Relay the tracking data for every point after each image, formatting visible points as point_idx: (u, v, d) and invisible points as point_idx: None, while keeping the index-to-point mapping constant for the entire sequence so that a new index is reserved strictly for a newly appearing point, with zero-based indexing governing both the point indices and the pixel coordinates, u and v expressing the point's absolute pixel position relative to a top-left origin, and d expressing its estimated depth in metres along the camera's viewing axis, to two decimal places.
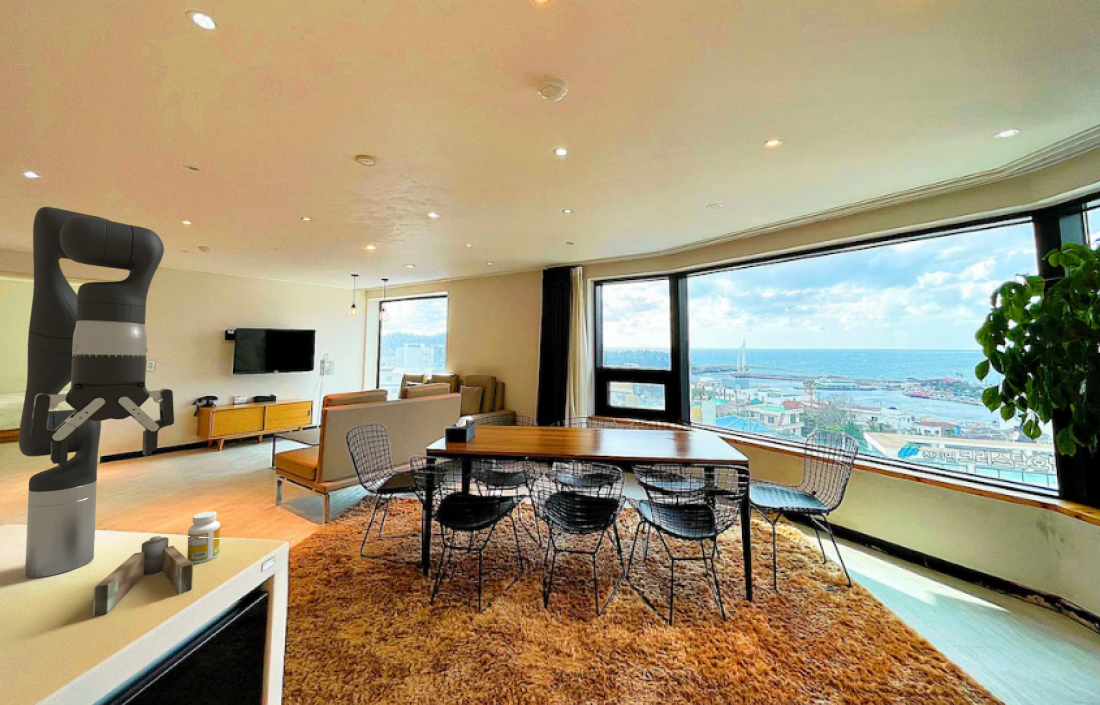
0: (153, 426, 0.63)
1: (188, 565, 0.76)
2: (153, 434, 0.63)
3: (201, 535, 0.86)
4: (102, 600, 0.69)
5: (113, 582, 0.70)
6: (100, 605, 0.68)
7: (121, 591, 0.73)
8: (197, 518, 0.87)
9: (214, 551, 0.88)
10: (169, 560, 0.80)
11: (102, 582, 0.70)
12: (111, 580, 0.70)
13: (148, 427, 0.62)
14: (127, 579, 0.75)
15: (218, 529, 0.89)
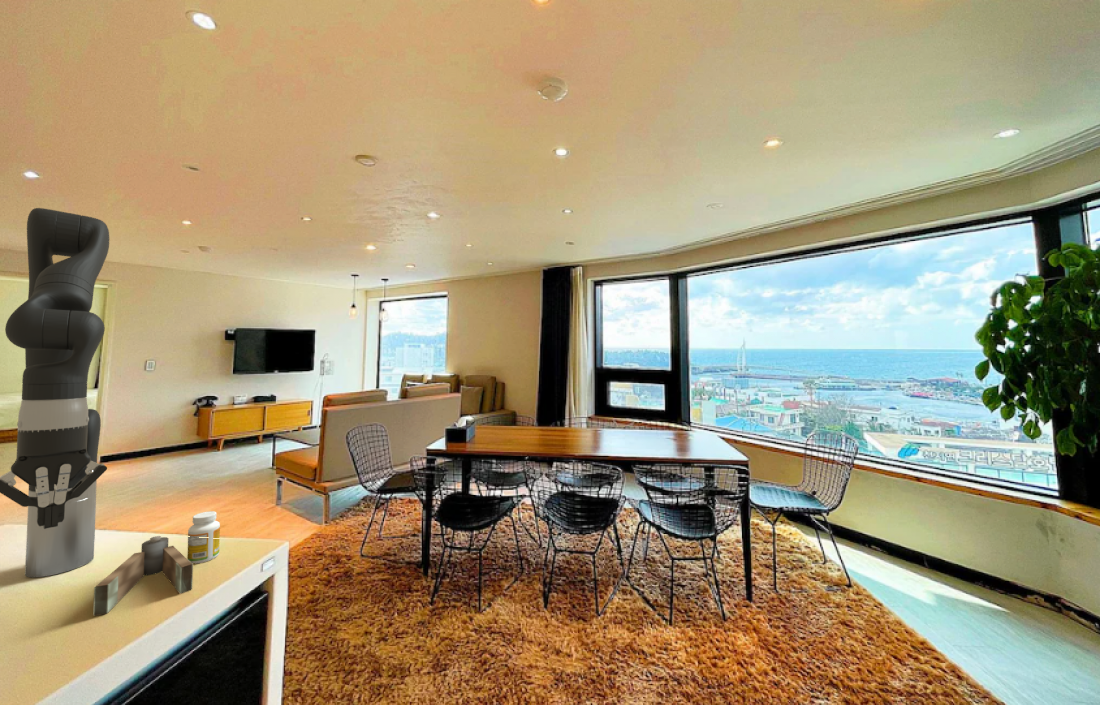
0: (59, 499, 0.68)
1: (188, 565, 0.76)
2: (60, 507, 0.68)
3: (201, 535, 0.86)
4: (102, 600, 0.69)
5: (113, 582, 0.70)
6: (100, 605, 0.68)
7: (121, 591, 0.73)
8: (197, 518, 0.87)
9: (214, 551, 0.88)
10: (169, 560, 0.80)
11: (102, 582, 0.70)
12: (111, 580, 0.70)
13: (54, 501, 0.67)
14: (127, 579, 0.75)
15: (218, 529, 0.89)
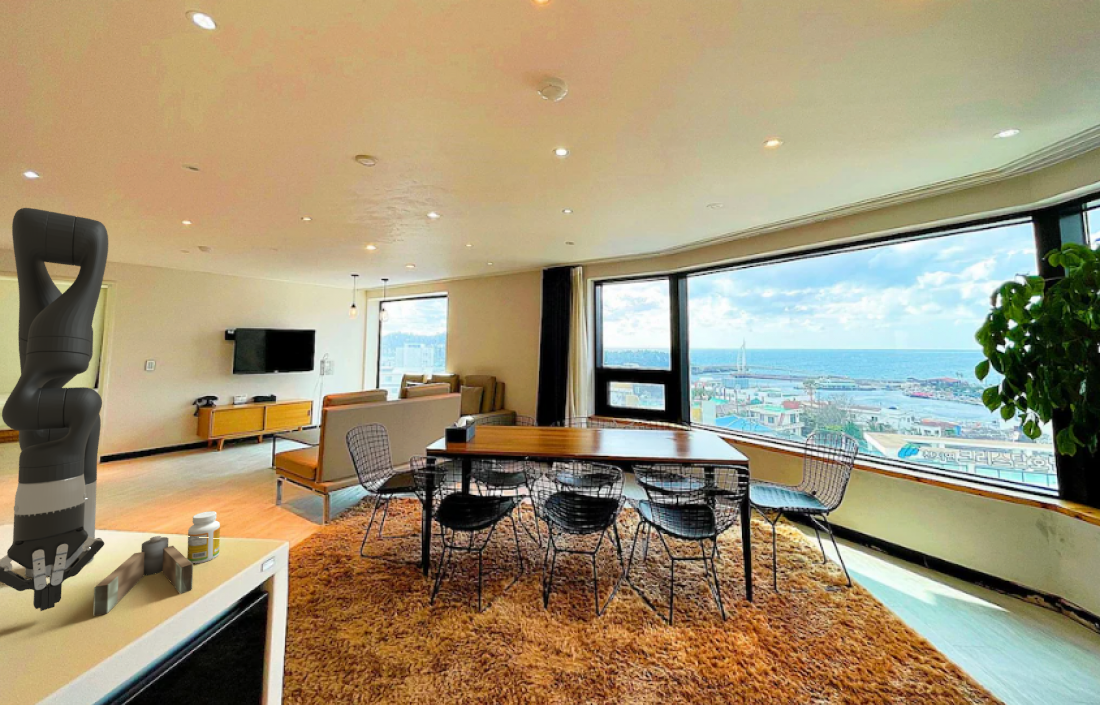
0: (56, 580, 0.67)
1: (188, 565, 0.76)
2: (56, 587, 0.67)
3: (201, 535, 0.86)
4: (102, 600, 0.69)
5: (113, 582, 0.70)
6: (100, 605, 0.68)
7: (121, 591, 0.73)
8: (197, 518, 0.87)
9: (214, 551, 0.88)
10: (169, 560, 0.80)
11: (102, 582, 0.70)
12: (111, 580, 0.70)
13: (51, 582, 0.67)
14: (127, 579, 0.75)
15: (218, 529, 0.89)
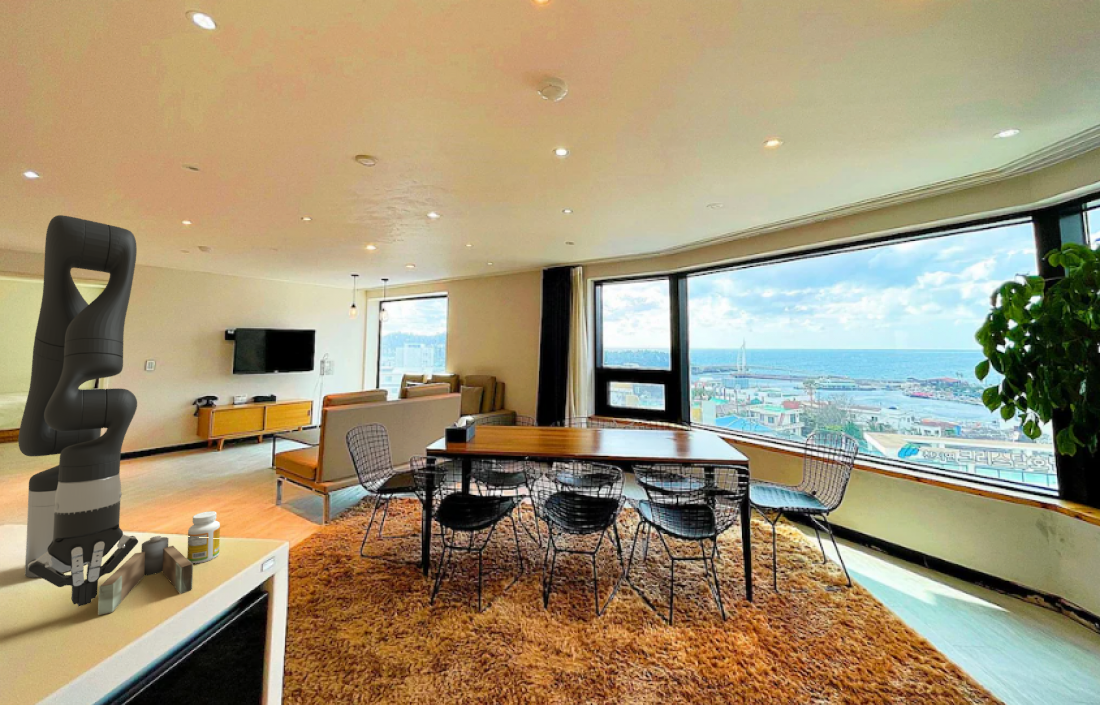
0: (93, 577, 0.69)
1: (188, 565, 0.76)
2: (93, 583, 0.69)
3: (201, 535, 0.86)
4: (107, 599, 0.69)
5: (117, 581, 0.70)
6: (105, 604, 0.69)
7: (124, 591, 0.73)
8: (197, 518, 0.87)
9: (214, 551, 0.88)
10: (169, 560, 0.80)
11: (106, 581, 0.70)
12: (115, 579, 0.70)
13: (88, 579, 0.68)
14: (129, 579, 0.75)
15: (218, 529, 0.89)
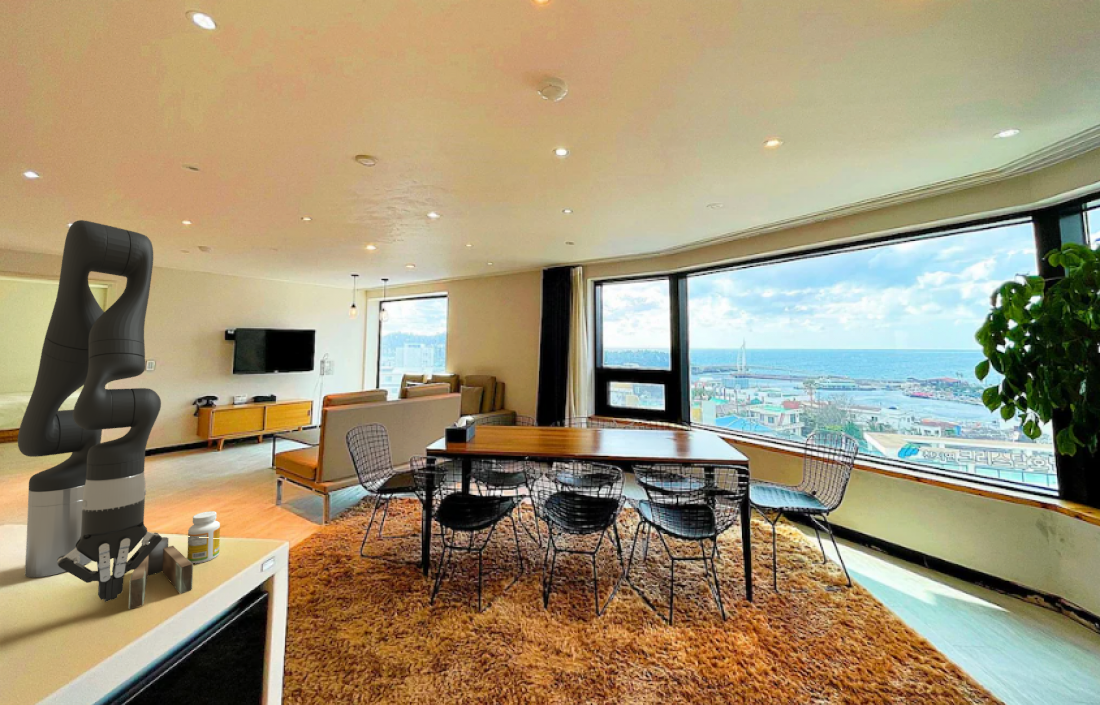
0: (119, 573, 0.70)
1: (188, 565, 0.76)
2: (119, 579, 0.70)
3: (201, 536, 0.86)
4: (137, 593, 0.71)
5: (144, 576, 0.72)
6: (135, 598, 0.70)
7: None
8: (197, 518, 0.87)
9: (214, 551, 0.88)
10: (169, 560, 0.80)
11: (133, 577, 0.71)
12: (142, 574, 0.72)
13: (114, 575, 0.70)
14: (145, 576, 0.76)
15: (218, 529, 0.89)
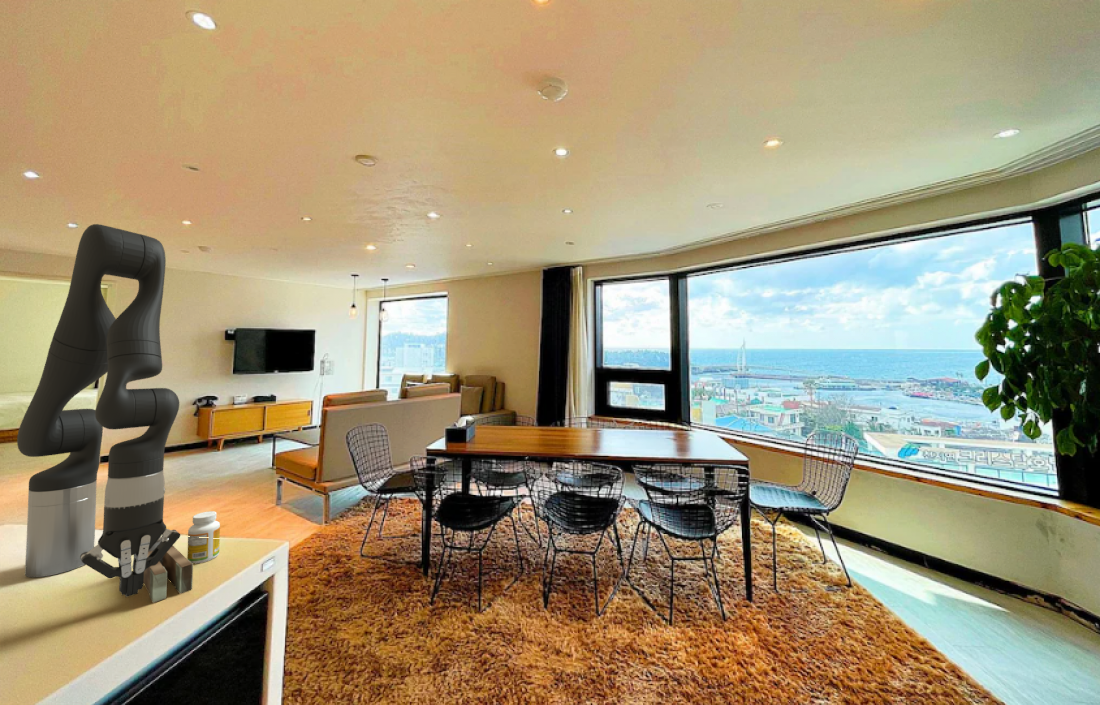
0: (139, 569, 0.72)
1: (188, 565, 0.76)
2: (139, 575, 0.72)
3: (201, 535, 0.86)
4: (161, 587, 0.73)
5: None
6: (159, 592, 0.72)
7: None
8: (197, 518, 0.87)
9: (214, 551, 0.88)
10: (169, 560, 0.80)
11: (154, 572, 0.73)
12: (163, 569, 0.74)
13: (135, 570, 0.71)
14: None
15: (218, 529, 0.89)
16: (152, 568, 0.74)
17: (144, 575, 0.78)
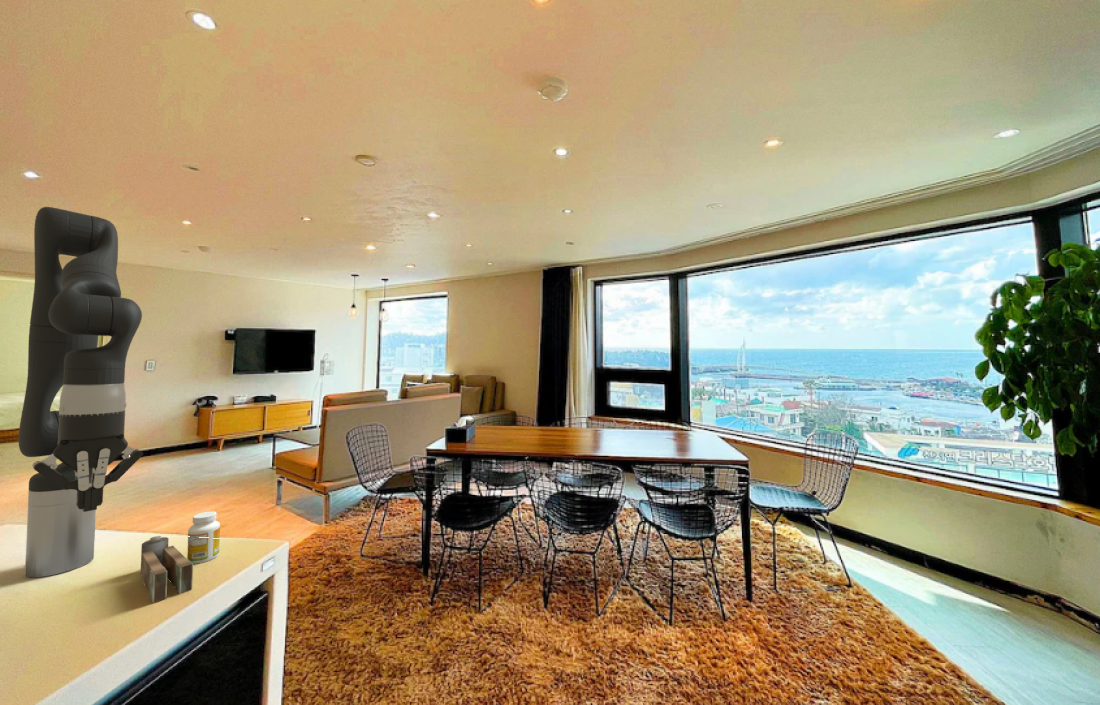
0: (98, 483, 0.68)
1: (188, 565, 0.76)
2: (98, 490, 0.69)
3: (201, 535, 0.86)
4: (161, 587, 0.73)
5: None
6: (159, 592, 0.73)
7: None
8: (197, 518, 0.87)
9: (214, 551, 0.88)
10: (169, 560, 0.80)
11: (155, 572, 0.73)
12: (163, 569, 0.74)
13: (93, 485, 0.68)
14: None
15: (218, 529, 0.89)
16: (152, 568, 0.74)
17: (144, 575, 0.78)
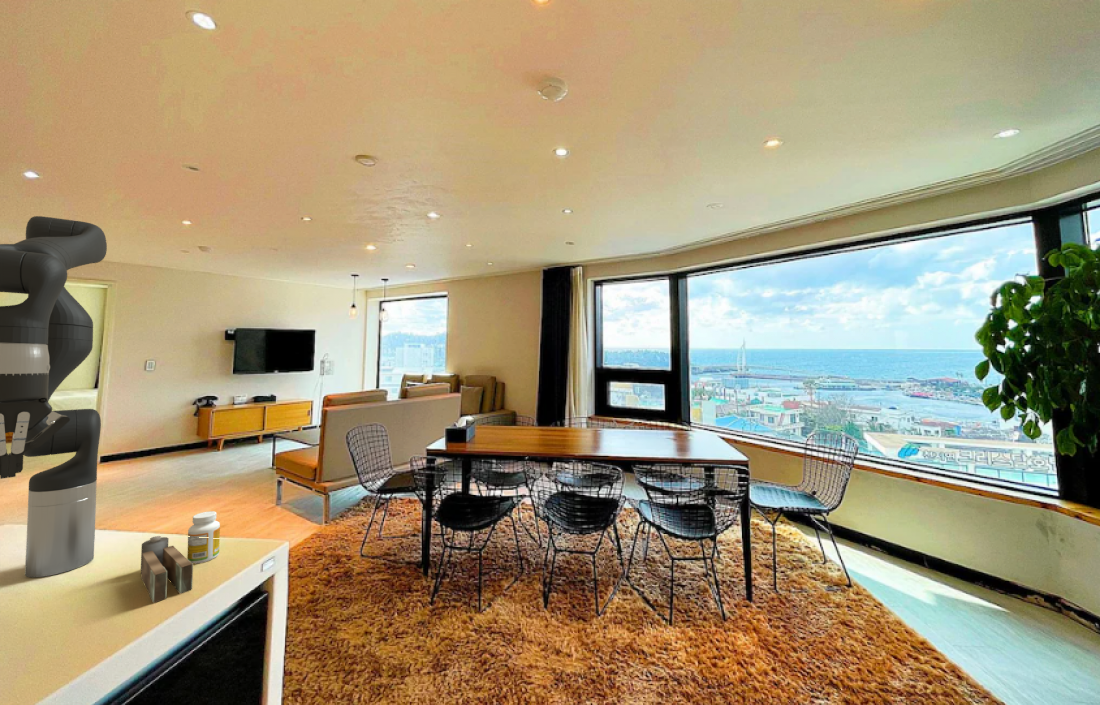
0: (17, 449, 0.65)
1: (188, 565, 0.76)
2: (18, 456, 0.65)
3: (201, 536, 0.86)
4: (161, 587, 0.73)
5: None
6: (159, 592, 0.73)
7: None
8: (197, 518, 0.87)
9: (214, 551, 0.88)
10: (169, 560, 0.80)
11: (155, 572, 0.73)
12: (163, 569, 0.74)
13: (11, 450, 0.64)
14: None
15: (218, 529, 0.89)
16: (152, 568, 0.74)
17: (144, 575, 0.78)
